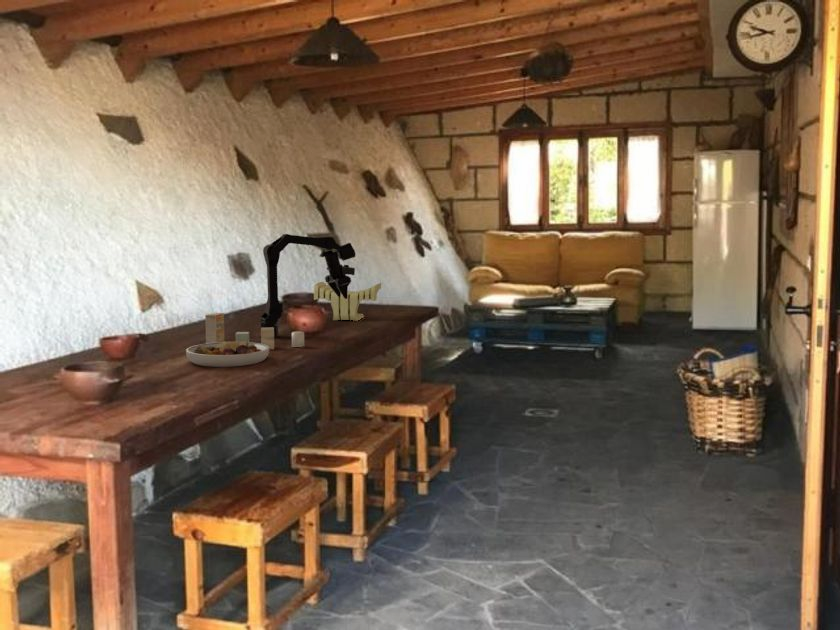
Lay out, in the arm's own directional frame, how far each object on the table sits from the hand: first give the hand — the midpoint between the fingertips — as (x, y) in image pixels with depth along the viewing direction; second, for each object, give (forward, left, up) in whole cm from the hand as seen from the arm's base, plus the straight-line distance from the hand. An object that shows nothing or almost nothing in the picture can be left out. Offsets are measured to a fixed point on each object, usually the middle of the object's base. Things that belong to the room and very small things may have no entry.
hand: (342, 297), depth 403 cm
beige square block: (-8, -41, -16) cm, 44 cm away
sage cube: (-32, -40, -16) cm, 53 cm away
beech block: (-19, -46, -16) cm, 52 cm away
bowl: (-24, -75, -16) cm, 80 cm away
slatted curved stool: (-9, +42, -16) cm, 46 cm away
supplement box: (-42, -44, -16) cm, 63 cm away
